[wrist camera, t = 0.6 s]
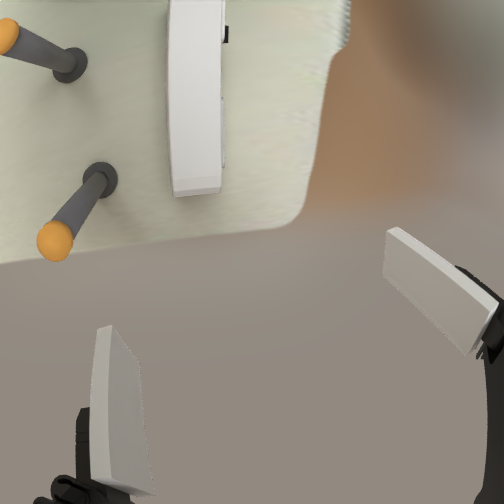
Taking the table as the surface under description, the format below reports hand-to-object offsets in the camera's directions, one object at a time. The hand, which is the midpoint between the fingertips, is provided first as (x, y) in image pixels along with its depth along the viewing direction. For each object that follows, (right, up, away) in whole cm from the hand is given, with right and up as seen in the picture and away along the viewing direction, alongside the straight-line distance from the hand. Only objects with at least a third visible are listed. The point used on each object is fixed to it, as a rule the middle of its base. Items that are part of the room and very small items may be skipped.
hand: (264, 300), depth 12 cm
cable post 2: (-26, +14, +29) cm, 41 cm away
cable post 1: (-29, +31, +18) cm, 46 cm away
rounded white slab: (-12, +28, +26) cm, 40 cm away
